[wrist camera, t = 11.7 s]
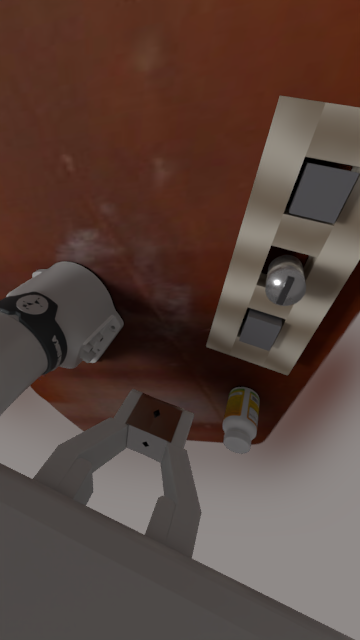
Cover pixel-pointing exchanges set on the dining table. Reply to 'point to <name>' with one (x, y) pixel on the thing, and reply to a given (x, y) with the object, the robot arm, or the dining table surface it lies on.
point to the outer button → (321, 192)
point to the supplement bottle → (241, 419)
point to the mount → (292, 233)
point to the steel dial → (285, 281)
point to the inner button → (260, 329)
